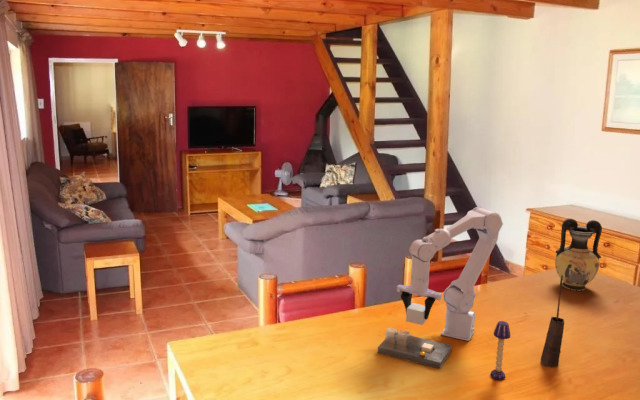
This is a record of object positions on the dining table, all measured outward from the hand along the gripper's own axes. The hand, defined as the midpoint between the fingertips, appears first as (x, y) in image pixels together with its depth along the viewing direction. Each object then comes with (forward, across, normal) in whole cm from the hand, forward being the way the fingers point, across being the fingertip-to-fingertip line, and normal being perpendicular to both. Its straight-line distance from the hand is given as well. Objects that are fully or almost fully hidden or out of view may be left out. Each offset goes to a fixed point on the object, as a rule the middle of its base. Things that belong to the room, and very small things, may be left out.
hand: (417, 316), depth 182 cm
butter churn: (+9, +41, +5) cm, 43 cm away
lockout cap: (+1, 0, 0) cm, 1 cm away
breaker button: (+8, +6, -8) cm, 13 cm away
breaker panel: (+8, +2, -8) cm, 12 cm away
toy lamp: (+9, +29, -10) cm, 31 cm away
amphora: (+8, +42, +83) cm, 94 cm away
